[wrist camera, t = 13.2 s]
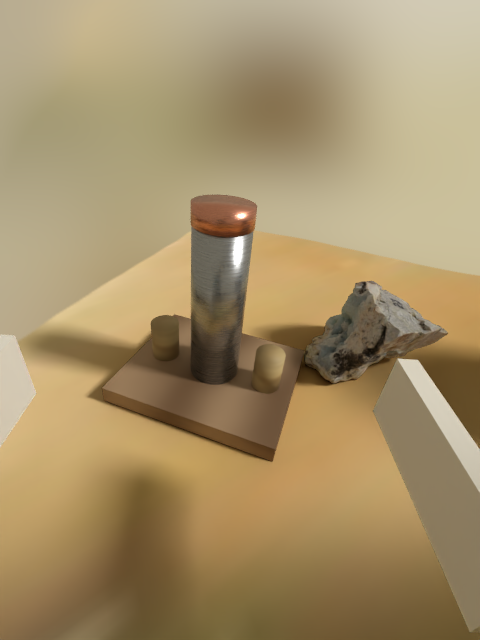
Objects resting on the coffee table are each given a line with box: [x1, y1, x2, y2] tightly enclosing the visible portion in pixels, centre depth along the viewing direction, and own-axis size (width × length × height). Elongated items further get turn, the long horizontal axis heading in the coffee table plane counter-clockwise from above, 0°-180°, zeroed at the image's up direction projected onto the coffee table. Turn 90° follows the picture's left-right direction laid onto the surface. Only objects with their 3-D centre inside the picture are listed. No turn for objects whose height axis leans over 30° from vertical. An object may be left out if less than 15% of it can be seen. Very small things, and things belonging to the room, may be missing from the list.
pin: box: [191, 195, 257, 385], centre depth 21 cm, size 4×4×12 cm
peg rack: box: [102, 314, 304, 461], centre depth 24 cm, size 12×10×4 cm
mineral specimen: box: [304, 281, 448, 383], centre depth 27 cm, size 10×8×10 cm
